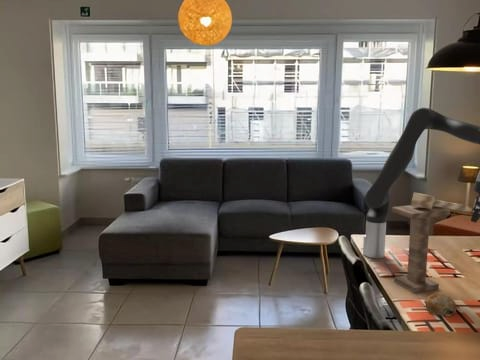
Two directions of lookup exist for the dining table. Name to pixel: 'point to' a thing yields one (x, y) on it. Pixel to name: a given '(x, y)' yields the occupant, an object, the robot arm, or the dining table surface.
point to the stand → (418, 246)
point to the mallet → (434, 202)
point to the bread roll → (440, 304)
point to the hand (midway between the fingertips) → (474, 220)
